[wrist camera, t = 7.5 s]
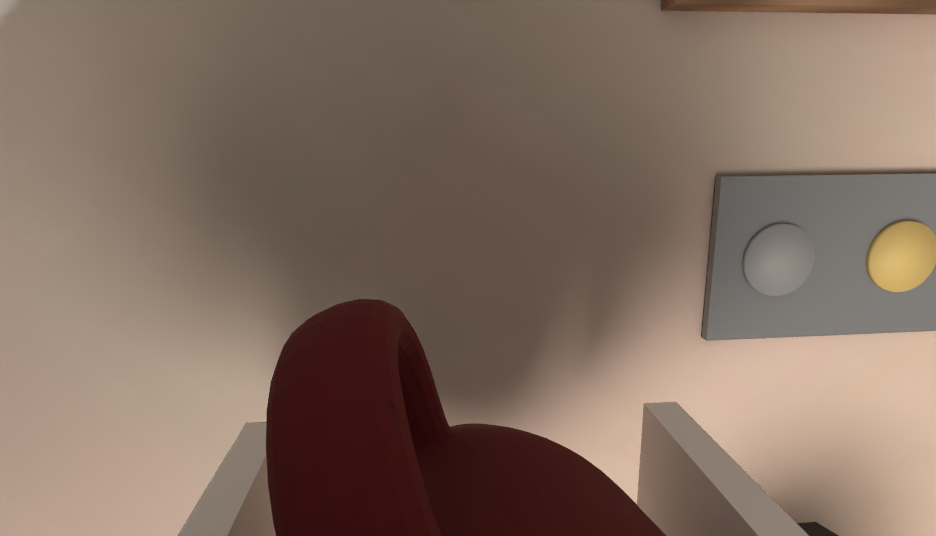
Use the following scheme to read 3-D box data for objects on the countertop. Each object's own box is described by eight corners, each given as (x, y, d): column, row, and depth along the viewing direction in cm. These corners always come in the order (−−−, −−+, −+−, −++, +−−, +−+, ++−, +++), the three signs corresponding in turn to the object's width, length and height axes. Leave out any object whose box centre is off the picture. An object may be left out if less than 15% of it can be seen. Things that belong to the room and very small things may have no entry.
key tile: (701, 337, 18) (709, 342, 17) (716, 176, 16) (725, 177, 16) (935, 327, 18) (949, 332, 18) (964, 172, 17) (980, 173, 17)
